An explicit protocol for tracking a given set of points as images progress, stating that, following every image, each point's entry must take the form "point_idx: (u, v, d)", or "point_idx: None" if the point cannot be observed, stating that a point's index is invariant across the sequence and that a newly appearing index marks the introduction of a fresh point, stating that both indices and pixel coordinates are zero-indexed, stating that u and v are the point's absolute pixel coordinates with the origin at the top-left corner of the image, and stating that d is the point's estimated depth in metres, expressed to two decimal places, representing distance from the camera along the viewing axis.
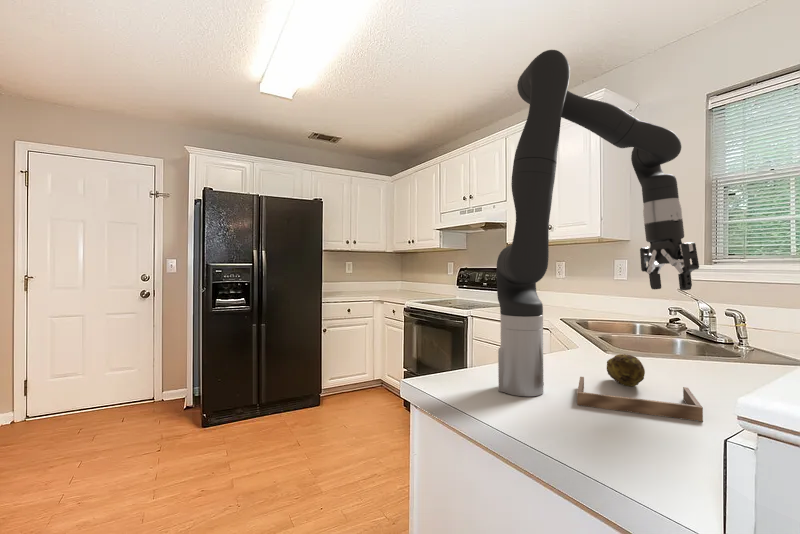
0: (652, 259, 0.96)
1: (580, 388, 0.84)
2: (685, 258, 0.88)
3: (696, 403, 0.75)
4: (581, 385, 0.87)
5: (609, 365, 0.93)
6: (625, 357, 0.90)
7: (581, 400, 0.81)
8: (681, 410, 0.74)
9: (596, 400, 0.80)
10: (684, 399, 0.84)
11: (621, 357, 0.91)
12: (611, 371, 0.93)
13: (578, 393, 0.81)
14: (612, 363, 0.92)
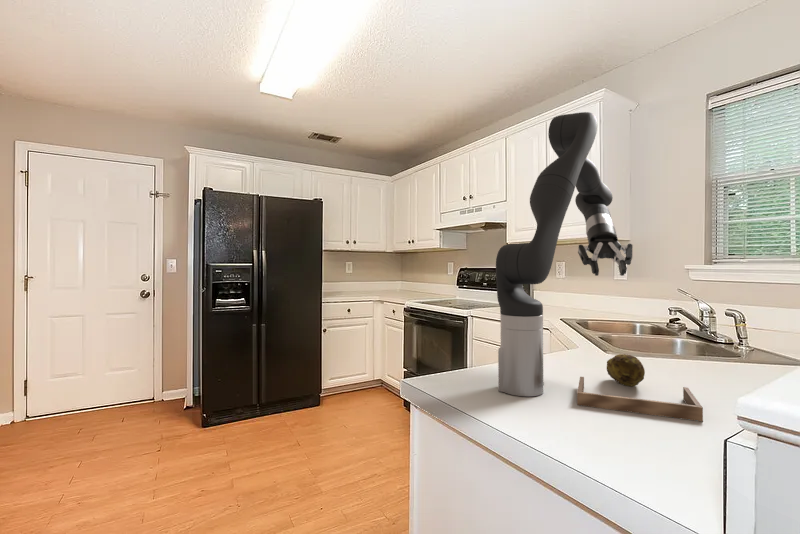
0: (598, 249, 1.11)
1: (580, 388, 0.84)
2: (630, 252, 1.09)
3: (696, 403, 0.75)
4: (581, 385, 0.87)
5: (609, 365, 0.93)
6: (625, 357, 0.90)
7: (581, 400, 0.81)
8: (681, 410, 0.74)
9: (596, 400, 0.80)
10: (684, 399, 0.84)
11: (621, 357, 0.91)
12: (611, 371, 0.93)
13: (578, 393, 0.81)
14: (612, 363, 0.92)
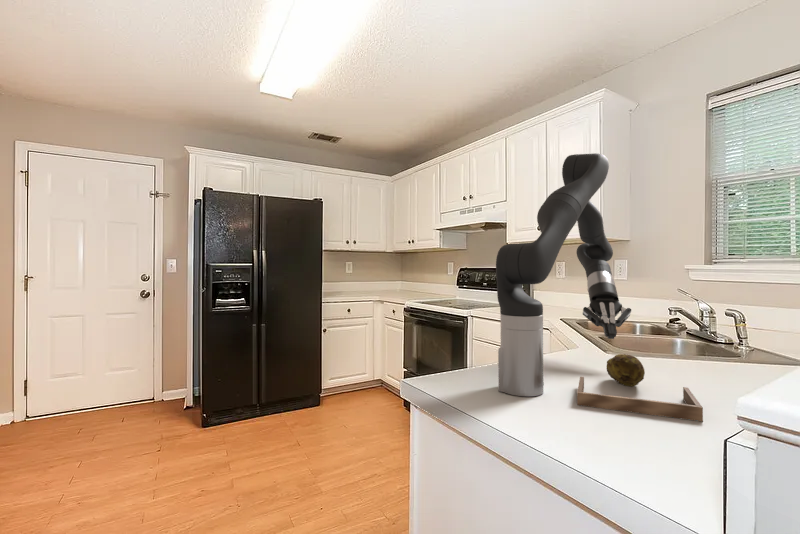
0: (603, 309, 1.14)
1: (580, 388, 0.84)
2: (623, 315, 1.12)
3: (696, 403, 0.75)
4: (581, 385, 0.87)
5: (609, 365, 0.94)
6: (625, 357, 0.90)
7: (581, 400, 0.81)
8: (681, 410, 0.74)
9: (596, 400, 0.80)
10: (684, 399, 0.84)
11: (621, 357, 0.91)
12: (611, 371, 0.93)
13: (578, 393, 0.81)
14: (612, 363, 0.92)
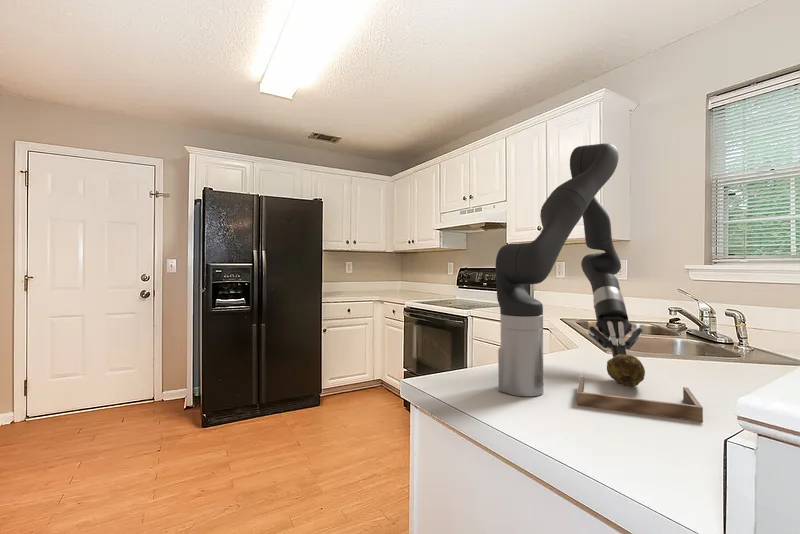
0: (611, 330, 1.04)
1: (580, 388, 0.84)
2: (634, 337, 1.02)
3: (696, 403, 0.75)
4: (581, 385, 0.87)
5: (609, 365, 0.93)
6: (625, 357, 0.90)
7: (581, 400, 0.81)
8: (681, 410, 0.74)
9: (596, 400, 0.80)
10: (684, 399, 0.84)
11: (621, 357, 0.91)
12: (611, 371, 0.93)
13: (578, 393, 0.81)
14: (612, 363, 0.92)
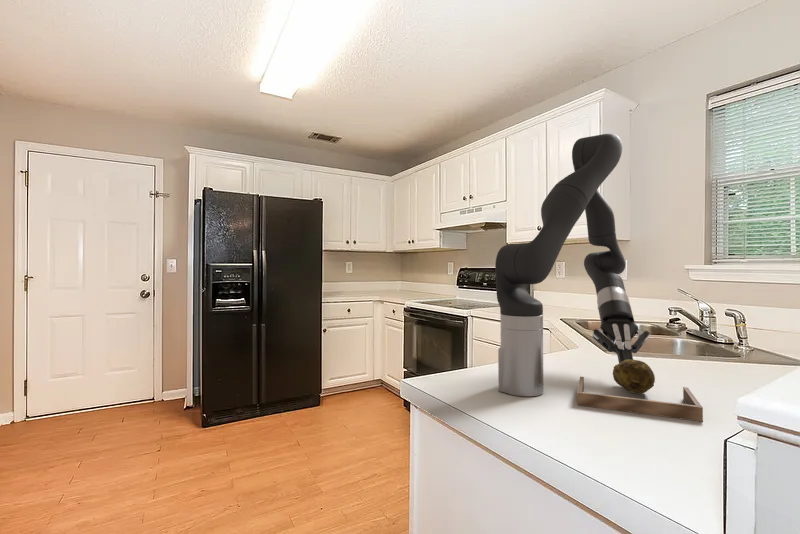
0: (617, 333, 0.99)
1: (580, 388, 0.84)
2: (640, 340, 0.97)
3: (696, 403, 0.75)
4: (581, 385, 0.87)
5: (616, 371, 0.88)
6: (634, 363, 0.85)
7: (581, 400, 0.81)
8: (681, 410, 0.74)
9: (596, 400, 0.80)
10: (684, 399, 0.84)
11: (630, 363, 0.85)
12: (619, 377, 0.87)
13: (578, 393, 0.81)
14: (620, 369, 0.86)
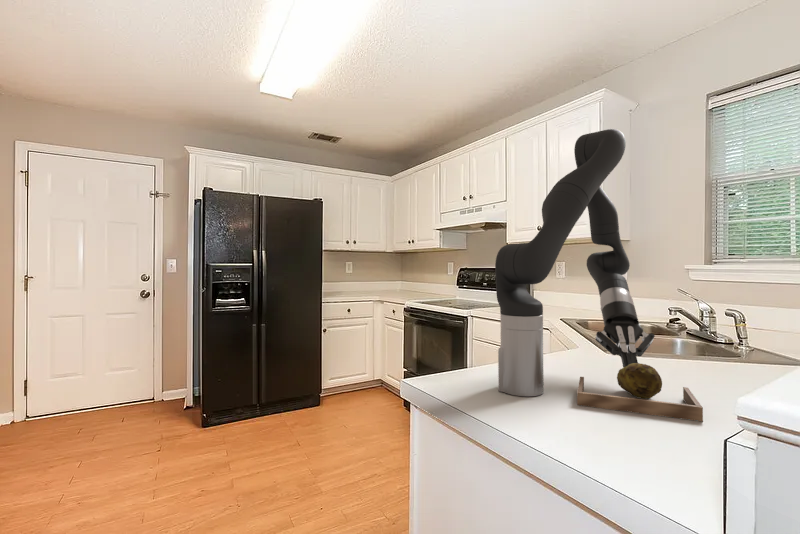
0: (621, 335, 0.95)
1: (580, 388, 0.84)
2: (645, 343, 0.93)
3: (696, 403, 0.75)
4: (581, 385, 0.87)
5: (622, 375, 0.84)
6: (641, 367, 0.81)
7: (581, 400, 0.81)
8: (681, 410, 0.74)
9: (596, 400, 0.80)
10: (684, 399, 0.84)
11: (636, 367, 0.82)
12: (624, 382, 0.84)
13: (578, 393, 0.81)
14: (626, 373, 0.83)
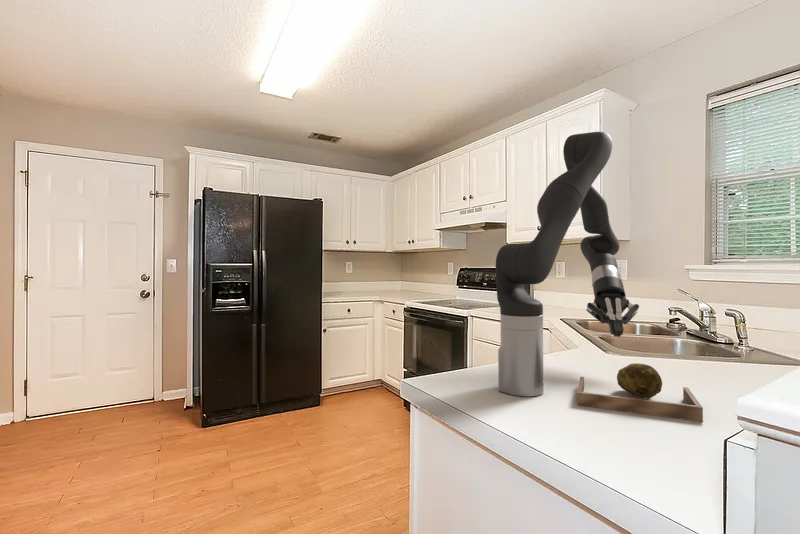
0: (609, 305, 1.06)
1: (580, 388, 0.84)
2: (630, 312, 1.04)
3: (696, 403, 0.75)
4: (581, 385, 0.87)
5: (622, 376, 0.84)
6: (641, 367, 0.81)
7: (581, 400, 0.81)
8: (681, 410, 0.74)
9: (596, 400, 0.80)
10: (684, 399, 0.84)
11: (636, 367, 0.82)
12: (624, 382, 0.84)
13: (578, 393, 0.81)
14: (626, 373, 0.83)
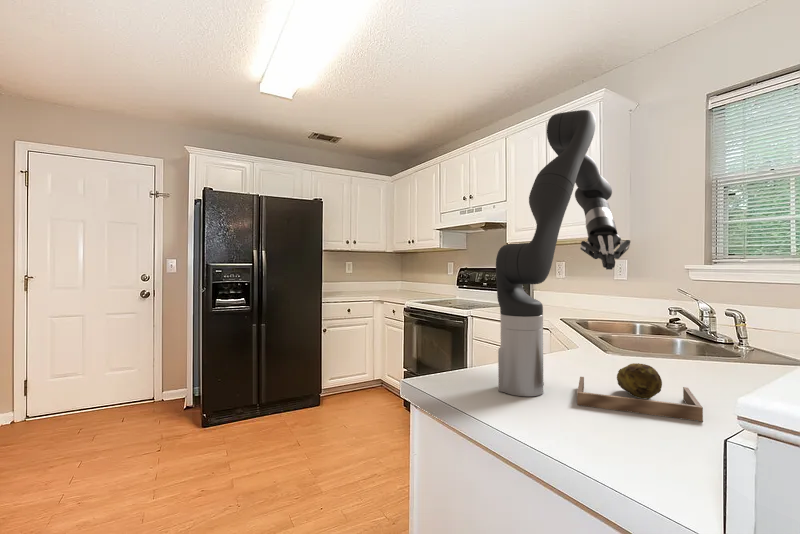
0: (601, 242, 1.11)
1: (580, 388, 0.84)
2: (622, 247, 1.09)
3: (696, 403, 0.75)
4: (581, 385, 0.87)
5: (622, 375, 0.84)
6: (641, 367, 0.81)
7: (581, 400, 0.81)
8: (681, 410, 0.74)
9: (596, 400, 0.80)
10: (684, 399, 0.84)
11: (636, 367, 0.82)
12: (624, 382, 0.84)
13: (578, 393, 0.81)
14: (626, 373, 0.83)
